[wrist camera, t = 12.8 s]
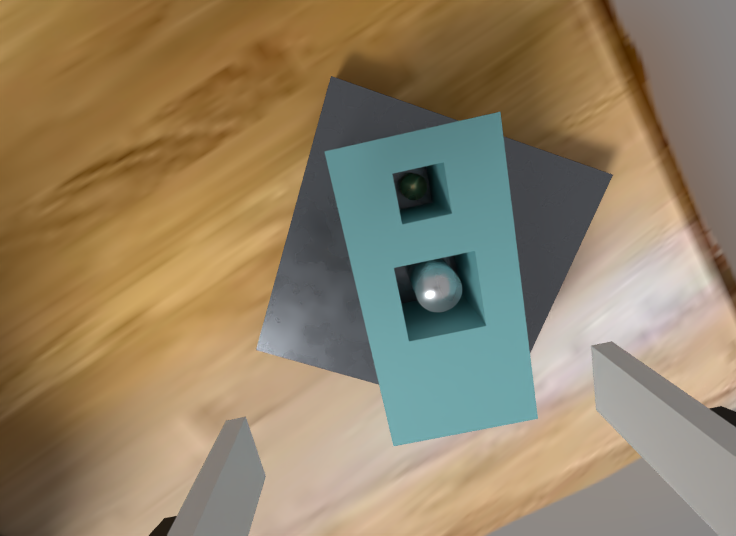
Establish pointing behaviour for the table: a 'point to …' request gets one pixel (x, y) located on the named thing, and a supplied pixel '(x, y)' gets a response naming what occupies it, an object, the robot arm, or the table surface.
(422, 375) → the teal block with holes
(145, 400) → the table surface
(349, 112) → the base
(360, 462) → the table surface
